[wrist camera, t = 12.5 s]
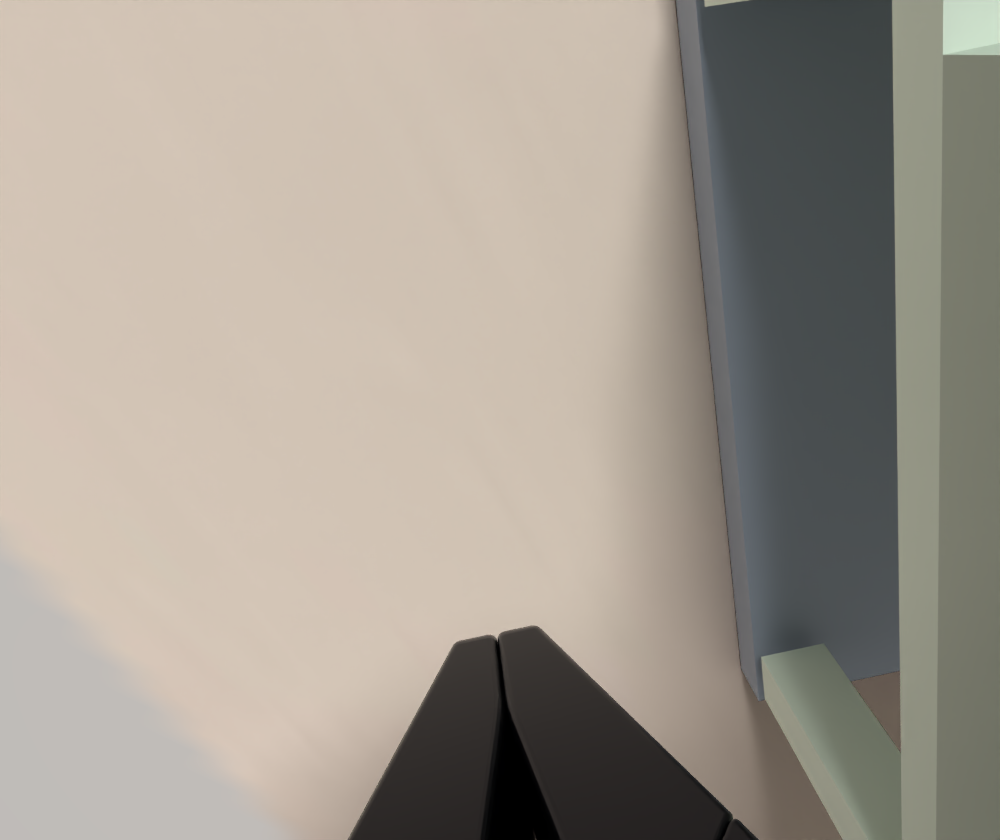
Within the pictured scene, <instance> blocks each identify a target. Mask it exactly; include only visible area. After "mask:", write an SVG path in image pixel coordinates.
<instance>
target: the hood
mask: <svg viewBox="0 0 1000 840" xmlns="http://www.w3.org/2000/svg"><path fill="white" fill-rule="evenodd" d="M741 1H748V0H704V3H705V7H707V6H714V5H721V4H728V3H734V2H741ZM892 39H893V124H894V210H895V295H896V380H897V466H898V551H899V636H900V722H901V753H900V751H899V750H898V748H897V747H896V745H895V744H894V743H893V741H892V740H891V738H890V737H889V735H888V734H887V733H886V731H885V730H884V728H883V727H882V726H881V724H880V723H879V721H878V720H877V718H876V717H875V716H874V714H873V713H872V711H871V710H870V708H869V707H868V706H867V704H866V703H865V701H864V700H863V699H862V697H861V696H860V694H859V693H858V691H857V690H856V689H855V687H854V686H853V684H852V683H851V681H850V680H849V679H848V677H847V676H846V674H845V673H844V672H843V670H842V669H841V667H840V666H839V664H838V663H837V662H836V660H835V659H834V657H833V656H832V654H831V653H830V652H829V650H828V649H827V647H826V646H825V644H824V643H823V644H818V645H814V646H809V647H804V648H800V649H795V650H791V651H786V652H781V653H777V654H772V655H767V656H763V657H761V662H762V673H763V685H764V696H765V700H766V702H767V704H768V706H769V707H770V709H771V711H772V713H773V715H774V717H775V718H776V720H777V722H778V724H779V726H780V727H781V729H782V731H783V733H784V735H785V736H786V738H787V740H788V742H789V744H790V745H791V747H792V749H793V751H794V753H795V755H796V756H797V758H798V760H799V762H800V764H801V765H802V767H803V769H804V771H805V773H806V774H807V776H808V778H809V780H810V782H811V784H812V785H813V787H814V789H815V791H816V793H817V794H818V796H819V798H820V800H821V802H822V803H823V805H824V807H825V809H826V811H827V812H828V814H829V816H830V818H831V820H832V822H833V823H834V825H835V827H836V829H837V831H838V832H839V834H840V836H841V838H842V840H1000V0H892Z"/></svg>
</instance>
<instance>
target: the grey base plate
mask: <svg viewBox="0 0 1000 840" xmlns="http://www.w3.org/2000/svg"><path fill="white" fill-rule="evenodd" d="M676 8H677V18H678V28H679V38H680V49H681V59H682V69H683V79H684V89H685V100H686V110H687V120H688V130H689V140H690V151H691V161H692V171H693V181H694V192H695V202H696V212H697V222H698V232H699V243H700V253H701V263H702V273H703V283H704V294H705V304H706V314H707V324H708V335H709V345H710V355H711V365H712V375H713V386H714V396H715V406H716V416H717V427H718V437H719V447H720V457H721V467H722V478H723V488H724V498H725V508H726V518H727V529H728V539H729V549H730V559H731V570H732V580H733V590H734V600H735V610H736V621H737V631H738V641H739V651H740V662H741V670H742V671H743V673H744V675H745V677H746V679H747V681H748V683H749V684H750V686H751V688H752V690H753V692H754V694H755V695H756V697H757V699H758V701H762V700H765V696H764V685H763V673H762V662H761V657H763V656H767V655H772V654H777V653H781V652H786V651H791V650H795V649H800V648H804V647H809V646H814V645H818V644H823V643H824V644H825V646H826V647H827V649H828V650H829V652H830V653H831V654H832V656H833V657H834V659H835V660H836V662H837V663H838V664H839V666H840V667H841V669H842V670H843V672H844V673H845V674H846V676H847V677H848V679H849V680H850V681H855V680H859V679H864V678H869V677H873V676H878V675H883V674H887V673H892V672H897V671H900V636H899V551H898V466H897V380H896V295H895V210H894V124H893V39H892V0H748V1H741V2H734V3H728V4H721V5H714V6H707V7H705V3H704V0H676Z"/></svg>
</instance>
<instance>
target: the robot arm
mask: <svg viewBox="0 0 1000 840" xmlns="http://www.w3.org/2000/svg"><path fill="white" fill-rule="evenodd" d="M348 840H759V839H758V838H757V837H755V836H754V835H753V834H752V833H751V832H750V831H749V830H748V829H747V828H746V827H745V826H744V825H743V824H742V823H741V822H740V821H739V820H737V819H733V816H732V814H731V813H730V812H729V811H728V810H727V809H726V808H725V807H724V806H723V805H722V804H721V803H720V802H719V801H718V800H717V799H716V798H715V797H714V796H713V795H712V794H711V793H710V792H709V791H708V790H707V789H706V788H705V787H703V786H702V785H701V784H700V783H699V782H698V781H697V780H696V779H695V778H694V777H693V776H692V775H691V774H690V773H689V772H688V771H687V770H686V769H685V768H684V767H683V766H682V765H681V764H680V763H679V762H678V761H677V760H676V759H675V758H674V757H673V756H672V755H671V754H669V753H668V752H667V751H666V750H665V749H664V748H663V747H662V746H661V745H660V744H659V743H658V742H657V741H656V740H655V739H654V738H653V737H652V736H651V735H650V734H649V733H648V732H647V731H646V730H645V729H644V728H643V727H642V726H641V725H640V724H639V723H638V722H636V721H635V720H634V719H633V718H632V717H631V716H630V715H629V714H628V713H627V712H626V711H625V710H624V709H623V708H622V707H621V706H620V705H619V704H618V703H617V702H616V701H615V700H614V699H613V698H612V697H611V696H610V695H609V694H608V693H607V692H606V691H605V690H604V689H602V688H601V687H600V686H599V685H598V684H597V683H596V682H595V681H594V680H593V679H592V678H591V677H590V676H589V675H588V674H587V673H586V672H585V671H584V670H583V669H582V668H581V667H580V666H579V665H578V664H577V663H576V662H575V661H574V660H573V659H572V658H571V657H570V656H568V655H567V654H566V653H565V652H564V651H563V650H562V649H561V648H560V647H559V646H558V645H557V644H556V643H555V642H554V641H553V640H552V639H551V638H550V637H549V636H548V635H547V634H546V633H545V632H544V631H543V630H542V629H540V628H539V627H537V626H528V627H523V628H518V629H514V630H509V631H504V632H502V633H500V634H499V636H498V642H497V639H496V638H495V637H494V636H493V635H485V636H480V637H476V638H471V639H466V640H461V641H458V642H456V643H455V644H454V645H453V647H452V649H451V650H450V652H449V654H448V656H447V658H446V660H445V661H444V663H443V665H442V667H441V669H440V671H439V673H438V674H437V676H436V678H435V680H434V682H433V684H432V685H431V687H430V689H429V691H428V693H427V695H426V697H425V698H424V700H423V702H422V704H421V706H420V708H419V709H418V711H417V713H416V715H415V717H414V719H413V720H412V722H411V724H410V726H409V728H408V730H407V732H406V733H405V735H404V737H403V739H402V741H401V743H400V744H399V746H398V748H397V750H396V752H395V754H394V756H393V757H392V759H391V761H390V763H389V765H388V767H387V768H386V770H385V772H384V774H383V776H382V778H381V780H380V781H379V783H378V785H377V787H376V789H375V791H374V792H373V794H372V796H371V798H370V800H369V802H368V804H367V805H366V807H365V809H364V811H363V813H362V815H361V816H360V818H359V820H358V822H357V824H356V826H355V827H354V829H353V831H352V833H351V835H350V837H349V839H348Z"/></svg>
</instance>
